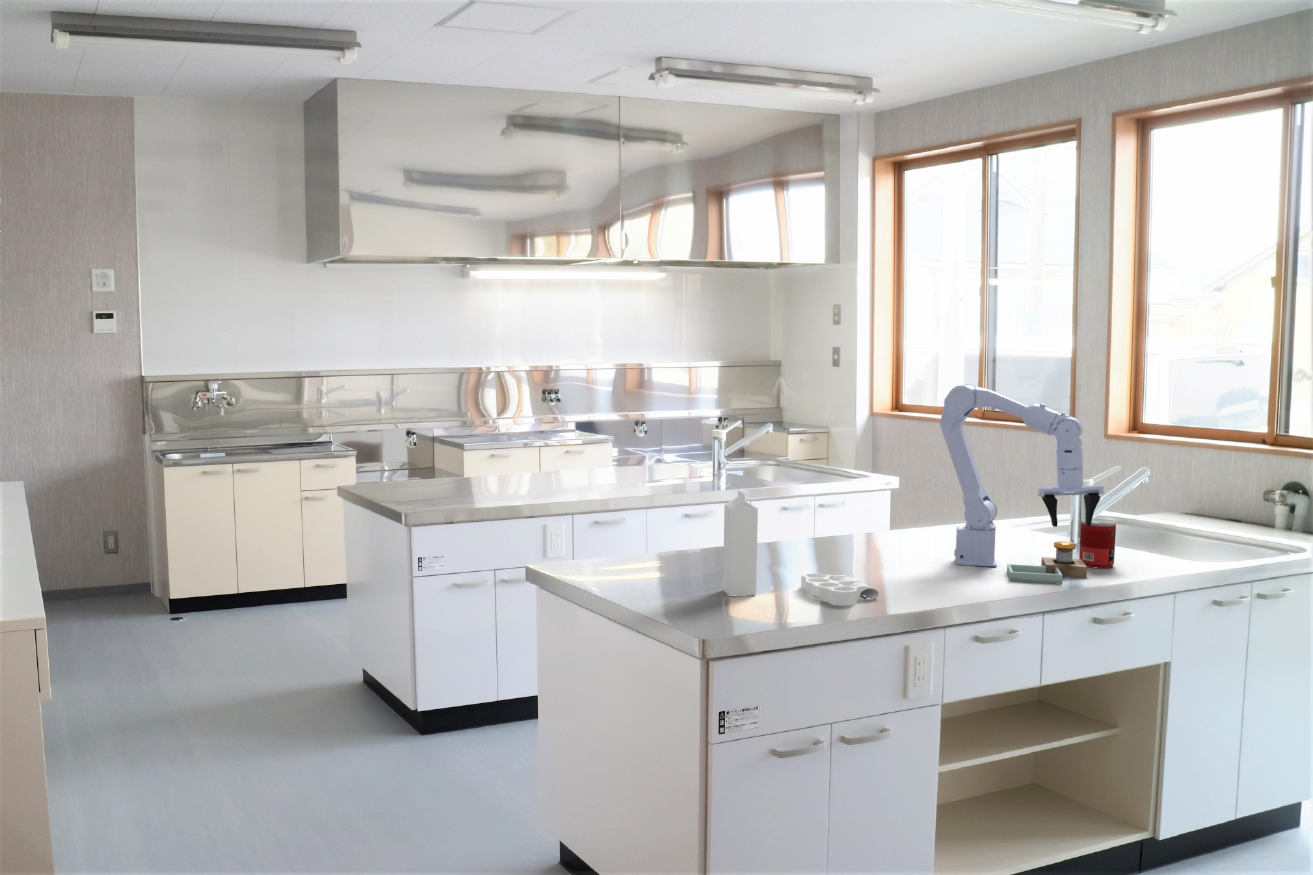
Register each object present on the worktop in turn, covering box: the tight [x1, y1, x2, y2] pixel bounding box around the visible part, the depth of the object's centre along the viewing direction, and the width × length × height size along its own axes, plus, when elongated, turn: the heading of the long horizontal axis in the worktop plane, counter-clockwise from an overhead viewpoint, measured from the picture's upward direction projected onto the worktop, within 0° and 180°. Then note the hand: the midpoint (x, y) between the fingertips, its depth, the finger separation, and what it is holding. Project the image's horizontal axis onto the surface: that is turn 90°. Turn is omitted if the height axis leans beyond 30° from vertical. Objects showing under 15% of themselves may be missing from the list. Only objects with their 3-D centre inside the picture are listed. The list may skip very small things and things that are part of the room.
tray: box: [1006, 563, 1064, 585], centre depth 250 cm, size 11×9×2 cm
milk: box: [722, 489, 759, 596], centre depth 231 cm, size 6×6×22 cm
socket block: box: [1040, 556, 1088, 579], centre depth 257 cm, size 9×9×2 cm
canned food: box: [1078, 517, 1117, 569], centre depth 265 cm, size 8×8×11 cm
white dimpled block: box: [797, 572, 880, 607], centre depth 232 cm, size 3×18×15 cm
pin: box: [1053, 540, 1077, 564], centre depth 257 cm, size 5×5×7 cm
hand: (1071, 525), depth 256 cm, fingers open, 7 cm apart
